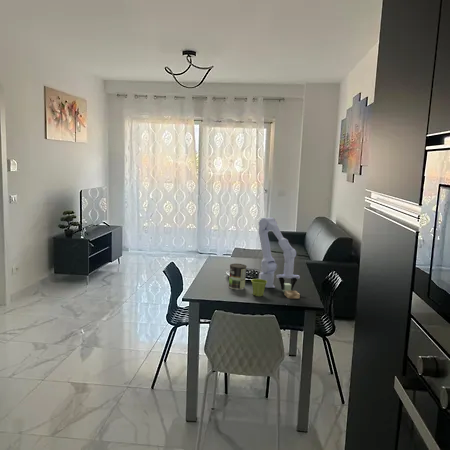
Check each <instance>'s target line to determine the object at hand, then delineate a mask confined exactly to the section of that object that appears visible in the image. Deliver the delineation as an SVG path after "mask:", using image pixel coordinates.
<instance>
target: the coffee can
mask: <svg viewBox="0 0 450 450" xmlns="http://www.w3.org/2000/svg"><path fill="white" fill-rule="evenodd" d="M246 273H247V265H246V264H243V263H230V265H229V277H228V278H229V279H228V288H229V289H231V290H237V291H239V290H240V291H241V290H245V287H246Z"/></svg>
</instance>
